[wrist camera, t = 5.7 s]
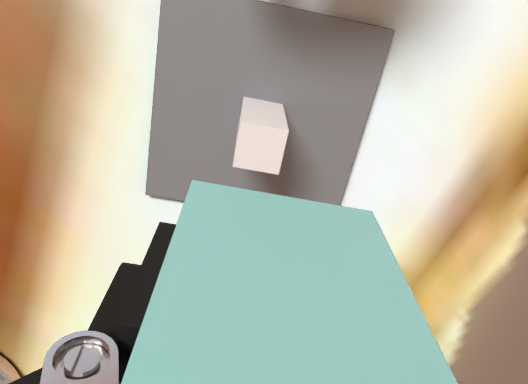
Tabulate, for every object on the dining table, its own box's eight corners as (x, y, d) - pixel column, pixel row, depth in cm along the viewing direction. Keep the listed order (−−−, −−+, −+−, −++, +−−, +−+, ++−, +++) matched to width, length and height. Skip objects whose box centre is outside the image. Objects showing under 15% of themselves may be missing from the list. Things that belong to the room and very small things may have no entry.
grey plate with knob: (332, 222, 31) (348, 271, 26) (147, 191, 30) (122, 236, 25) (392, 29, 25) (429, 41, 20) (164, -21, 24) (137, -23, 19)
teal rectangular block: (324, 340, 14) (371, 595, 8) (173, 319, 14) (107, 573, 8) (372, 211, 12) (483, 434, 6) (192, 180, 11) (118, 389, 5)
